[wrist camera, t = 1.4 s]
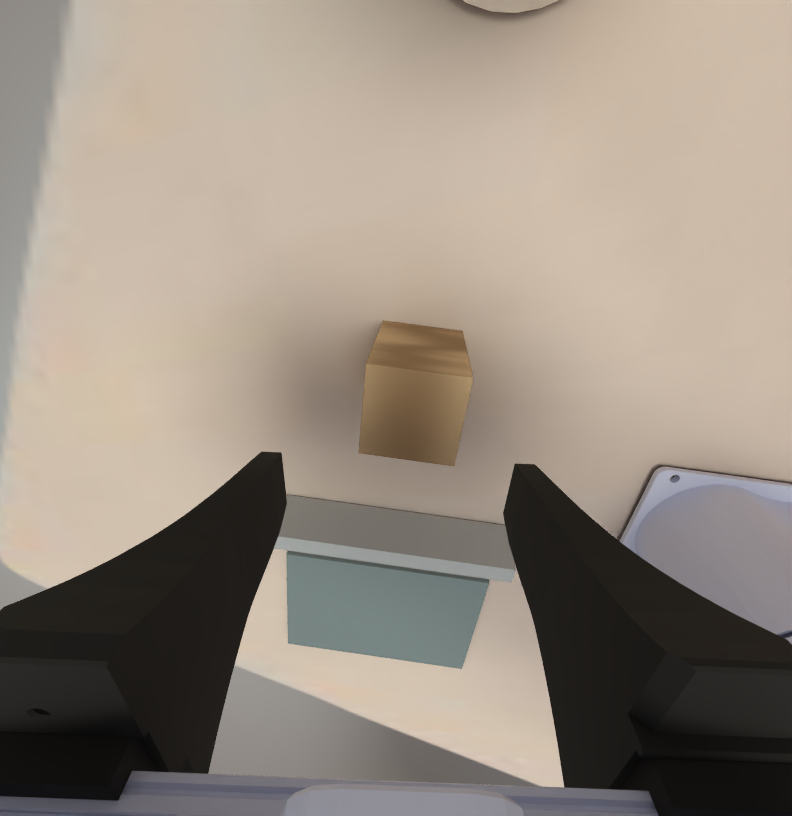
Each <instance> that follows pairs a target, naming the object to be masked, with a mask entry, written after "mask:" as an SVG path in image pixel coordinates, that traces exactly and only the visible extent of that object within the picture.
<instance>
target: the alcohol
mask: <svg viewBox="0 0 792 816" xmlns="http://www.w3.org/2000/svg"><path fill="white" fill-rule="evenodd" d="M463 1H464V2H466V3H468V4H470V5H473V6H476V7H479V8H482V9H485V10H488V11H492V12H507V13H519V12H524V11H529V10H534V9H540V8H543V7H545V6H547V5H550V4H552V3H554V2H556V1H559V0H463Z"/></svg>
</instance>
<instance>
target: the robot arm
mask: <svg viewBox="0 0 792 816" xmlns="http://www.w3.org/2000/svg"><path fill="white" fill-rule="evenodd" d="M674 475H676V476H675V477H673V478H671V477H672V476H674ZM286 506H287V499H286V490H285V481H284V472H283V463H282V454H281V453H278V452H261V453H260V454H258V455H257V456H256V457H255V458H254V459H253V460H251V461H250V462H249V463H248V464H247V465H246V466H245V467H243V468H242V469H241V470H240V471H239V472H238V473H237V474H235V475H234V476H233V477H232V478H231V479H230V480H229V481H227V482H226V483H225V484H224V485H223V486H221V487H220V488H219V489H218V490H217V491H216V492H214V493H213V494H212V495H211V496H209V497H208V498H207V499H205V500H204V501H203V502H201V503H200V504H199V505H198V506H196V507H195V508H194V509H192V510H191V511H190V512H188V513H187V514H186V515H184V516H183V517H181V518H180V519H178V520H177V521H176V522H174V523H173V524H171V525H169V526H168V527H166V528H165V529H163V530H162V531H160V532H159V533H157V534H155V535H154V536H152V537H151V538H149V539H147V540H145V541H144V542H142V543H140V544H138V545H136V546H135V547H133V548H131V549H129V550H128V551H126V552H124V553H122V554H121V555H119V556H117V557H115V558H113V559H111V560H109V561H107V562H105V563H103V564H101V565H99V566H97V567H95V568H93V569H91V570H89V571H87V572H85V573H83V574H81V575H79V576H76V577H74V578H72V579H70V580H68V581H66V582H63V583H61V584H59V585H57V586H54V587H52V588H49V589H47V590H44V591H42V592H40V593H37V594H35V595H32V596H30V597H27V598H25V599H23V600H20V601H18V602H15V603H13V604H10V605H8V606H5V607H3V608H2V609H1V610H0V816H792V484H789V483H782V482H775V481H767V480H760V479H753V478H745V477H738V476H731V475H723V474H716V473H709V472H701V471H694V470H687V469H680V468H672V467H660V468H658V469H657V470H655V472H654V473H653V475H652V477H651V479H650V481H649V483H648V485H647V487H646V489H645V491H644V493H643V495H642V497H641V499H640V501H639V503H638V505H637V507H636V509H635V511H634V513H633V515H632V517H631V519H630V521H629V523H628V525H627V527H626V529H625V531H624V533H623V535H622V537H621V539H620V541H618V540H617V539H616V538H614V537H613V536H612V535H611V534H609V533H608V532H607V531H606V530H605V529H603V528H602V527H601V526H600V525H599V524H597V523H596V522H595V521H594V520H593V519H592V518H591V517H589V516H588V515H587V514H586V513H585V512H584V511H583V510H582V509H580V508H579V507H578V506H577V505H576V504H575V503H574V502H573V501H572V500H571V499H570V498H569V497H568V496H567V495H566V494H565V493H564V492H563V491H562V490H561V489H559V488H558V487H557V486H556V485H555V484H554V483H553V482H552V481H551V480H550V479H549V478H548V477H547V476H546V475H545V474H544V473H543V472H542V471H541V470H540V469H539V468H538V467H537V466H536V465H534V464H515V466H514V470H513V474H512V478H511V483H510V487H509V491H508V495H507V500H506V504H505V508H504V512H503V514H504V520H505V526H506V532H507V537H508V542H509V546H510V549H511V552H512V555H513V558H514V562H515V565H516V568H517V571H518V574H519V577H520V580H521V583H522V586H523V589H524V592H525V595H526V598H527V602H528V605H529V608H530V611H531V614H532V618H533V621H534V625H535V629H536V634H537V638H538V643H539V647H540V652H541V656H542V661H543V666H544V671H545V676H546V681H547V686H548V691H549V697H550V702H551V708H552V713H553V719H554V725H555V731H556V736H557V742H558V748H559V755H560V761H561V768H562V775H563V781H564V788H561V787H535V786H508V785H483V784H481V785H480V784H457V783H456V784H455V783H432V782H405V781H404V782H403V781H380V780H355V779H327V778H303V777H277V776H250V775H225V774H223V775H222V774H208V772H209V767H210V763H211V758H212V753H213V749H214V745H215V740H216V736H217V732H218V727H219V723H220V719H221V715H222V711H223V707H224V703H225V699H226V695H227V691H228V687H229V683H230V679H231V675H232V672H233V668H234V664H235V660H236V657H237V653H238V649H239V646H240V642H241V638H242V635H243V631H244V628H245V624H246V621H247V617H248V614H249V611H250V608H251V605H252V603H253V600H254V597H255V595H256V592H257V589H258V587H259V584H260V582H261V579H262V577H263V574H264V572H265V569H266V567H267V564H268V562H269V559H270V557H271V554H272V551H273V549H274V546H275V544H276V541H277V539H278V536H279V533H280V530H281V526H282V522H283V518H284V514H285V510H286Z"/></svg>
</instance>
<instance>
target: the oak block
mask: <svg viewBox="0 0 792 816" xmlns="http://www.w3.org/2000/svg"><path fill="white" fill-rule="evenodd" d="M472 382H473V375H472V370H471V366H470V362H469V357H468V353H467V349H466V344H465V340H464V335H463V331H458V330H450V329H443V328H435V327H428V326H420V325H413V324H405V323H398V322H390V321H383V322H382V325H381V327H380V330H379V332H378V335H377V337H376V340H375V342H374V345H373V347H372V350H371V352H370V355H369V357H368V360H367V363H366V370H365V382H364V394H363V406H362V418H361V430H360V442H359V453H362V454H369V455H377V456H384V457H391V458H398V459H406V460H413V461H420V462H427V463H434V464H442V465H449V466H454V464H455V460H456V455H457V450H458V446H459V441H460V437H461V432H462V428H463V423H464V418H465V414H466V409H467V405H468V400H469V395H470V391H471V386H472Z"/></svg>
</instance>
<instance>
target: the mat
mask: <svg viewBox="0 0 792 816" xmlns="http://www.w3.org/2000/svg"><path fill="white" fill-rule="evenodd" d="M488 585H489V580H488V579H481V578H474V577H467V576H460V575H453V574H446V573H439V572H432V571H425V570H418V569H411V568H404V567H397V566H390V565H383V564H376V563H369V562H362V561H355V560H348V559H341V558H334V557H327V556H320V555H313V554H306V553H299V552H292V551H288V552H287V607H288V643H289V644H295V645H302V646H309V647H316V648H323V649H330V650H336V651H343V652H350V653H357V654H364V655H371V656H377V657H384V658H391V659H398V660H405V661H412V662H418V663H425V664H432V665H439V666H446V667H453V668H459V669H462V667H463V664H464V660H465V657H466V654H467V651H468V648H469V645H470V642H471V639H472V635H473V632H474V629H475V626H476V623H477V620H478V617H479V613H480V610H481V607H482V604H483V601H484V598H485V595H486V591H487V588H488Z"/></svg>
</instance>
